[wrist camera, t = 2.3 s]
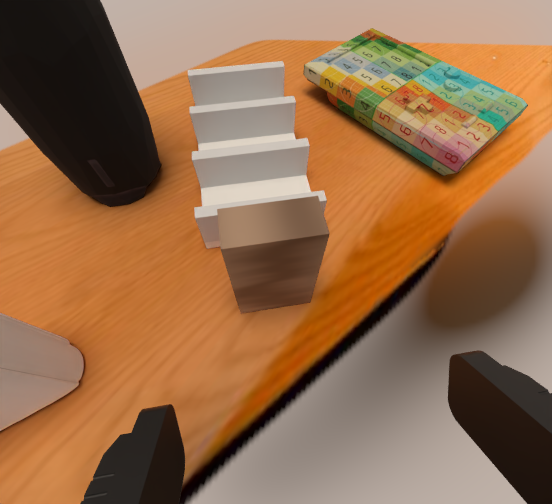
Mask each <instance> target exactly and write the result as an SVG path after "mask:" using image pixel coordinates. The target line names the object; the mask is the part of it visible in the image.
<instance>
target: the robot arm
mask: <svg viewBox="0 0 552 504" xmlns="http://www.w3.org/2000/svg"><path fill="white" fill-rule="evenodd" d="M448 402H449V406H450V409H451V412H452V414H453V416H454V418H455V419H456V421H457V422H458V423H459V424H460V426H461V427H462V428H463V429H464V430H465V431H466V433H467V434H468V435H469V436H470V437H471V439H472V440H473V441H474V442H475V443H476V444H477V446H479V448H480V449H481V450H482V451H483V452H484V454H485V455H486V456H487V457H488V458H489V459H490V461H491V462H492V463H493V464H494V465H495V466H496V468H497V469H498V470H499V471H500V472H501V473H502V474H503V476H504V477H505V478H506V479H507V480H508V482H509V483H510V484H511V485H512V486H513V487H514V489H515V490H516V491H517V492H518V493H519V494H520V496H521V497H522V498H523V499H524V500H525V501H526V502H527V504H552V393H551V394H550V393H549V392H548V390H547V389H545V388H544V387H543V386H541V385H540V384H539V383H537V382H536V381H535V380H533V379H532V378H530V377H529V376H527V375H525V374H523V373H521V372H518V371H516V370H514V369H512V368H510V367H508V366H502V365H501V364H499V363H498V362H497V361H495V360H494V359H493V358H491V357H490V356H489V355H487V354H486V353H484V352H483V351H472V352H466V353H461V354H456V355H453V356H451V358H450V366H449V386H448ZM184 471H185V452H184V446H183V442H182V438H181V434H180V430H179V426H178V422H177V418H176V414H175V411H174V408H173V406H172V405H171V404H169V405H163V406H158V407H152V408H147V409H142V410H141V412H140V413H139V415H138V418H137V420H136V423H135V425H134V428H133V430H132V433H128V434H122V435H120V436H119V437H118V438H117V440H116V441H115V442H114V443H113V444H112V445H111V447H110V448H109V449H108V450H107V451H106V452H105V454H104V455H103V457H102V459H101V461H100V463H99V465H98V468H97V470H96V472H95V474H94V476H93V481H91V482H90V485H89V487H88V489H87V491H86V493H85V495H84V501H81V504H179V501H180V495H181V489H182V484H183V478H184Z"/></svg>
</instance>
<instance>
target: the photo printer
mask: <svg viewBox="0 0 552 504" xmlns="http://www.w3.org/2000/svg"><path fill="white" fill-rule="evenodd" d="M83 368H84V362H83V357H82V354H81V352H80V351H79V350H78V349H77V348H76V347H74V346H72V345H70V342H69V340H67V339H66V338H63V337H61V336H59V335H56V334H53V333H51V332H48V331H46V330H43V329H40V328H38V327H35V326H33V325H30V324H27V323H25V322H22V321H20V320H17V319H15V318H12V317H9V316H7V315H4V314H2V313H0V431H1V430H3V429H5V428H7V427H8V426H10V425H12V424H14V423H16V422H18V421H20V420H22V419H24V418H25V417H27V416H29V415H31V414H33V413H35V412H36V411H38V410H40V409H42V408H44V407H45V406H47V405H49V404H51V403H53V402H54V401H56V400H58V399H60V398H61V397H63V396H65V395H66V394H68V393H69V392H71V391H72V390H73V389H75V388H76V387H77V386H78V385H79V382H78V381H79V380H80V379H81V377H82V374H83Z"/></svg>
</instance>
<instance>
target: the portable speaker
mask: <svg viewBox="0 0 552 504" xmlns="http://www.w3.org/2000/svg"><path fill="white" fill-rule="evenodd" d="M0 104H1V105H2V106H3V107H4V108H5V109H6V111H7V112H8V113H9V114H10V115H11V116H12V118H14V120H15V121H16V122H17V123H18V125H19V126H20V127H21V128H22V129H23V130H24V132H25V133H26V134H27V135H28V136H29V138H30V139H31V140H32V141H33V142H34V143H35V145H36V146H37V147H38V148H39V149H40V150H41V152H42V153H43V154H44V155H45V156H46V157H48V158H49V159H50V160H51V161H52V162H53V163H54V164H55V165H56V166H57V167H58V168H59V169H60V170H61V171H62V172H63V173H64V174H65V175H66V176H67V177H68V178H69V179H70V180H71V181H72V182H73V183H74V184H75V185H76V186H77V187H78V188H79V189H80V190H81V191H82V192H83V193H85V194H87V195H88V196H91V197H93V198H95V199H96V200H97V201H99V202H100V203H102V204H105V205H107V206H110V207H111V206H118V205H125V204H130V203H132V202H134V201H136V200H138V199H140V198H142V197H144V194H145V190H146V188H147V186H148V185H149V184H150V183H151V182H152V181H153V179H154V178H155V177H156V175H157V172H158V170H159V167H160V166H161V164H160V161H159V157H158V152H157V148H156V144H155V140H154V136H153V133H152V129H151V125H150V121H149V117H148V115H147V112H146V110H145V107H144V105H143V103H142V100H141V98H140V95H139V93H138V90H137V88H136V86H135V83H134V81H133V78H132V76H131V74H130V71H129V69H128V66H127V64H126V61H125V59H124V56H123V54H122V51H121V49H120V47H119V44H118V42H117V39H116V37H115V34H114V32H113V29H112V27H111V25H110V22H109V20H108V17H107V15H106V12H105V10H104V8H103V5H102V3H101V2H100V0H0Z"/></svg>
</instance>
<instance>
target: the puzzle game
mask: <svg viewBox="0 0 552 504" xmlns="http://www.w3.org/2000/svg"><path fill="white" fill-rule="evenodd" d="M304 75H305V77H306V78H307V79H308V80H309V81H310V82H312V83H314V84H315V85H317V86H318V87H320V88H322V89H323V90H325V91H326V92H327V96H328V100H329V101H330V102H331V103H332V104H333V105H334V106H335V107H337V108H338V109H340V110H341V111H343V112H345V113H346V114H348V115H349V116H351V117H352V118H354V119H355V120H357V121H359V122H360V123H362V124H363V125H365V126H366V127H368V128H370V129H371V130H373V131H374V132H376V133H377V134H379V135H380V136H382V137H384V138H385V139H387V140H388V141H390V142H391V143H393V144H394V145H396V146H398V147H399V148H401V149H402V150H404V151H405V152H407V153H409V154H410V155H412V156H413V157H415V158H416V159H418V160H419V161H421V162H423V163H424V164H426V165H427V166H429V167H430V168H432V169H434V170H435V171H437V172H438V173H440V174H441V175H443V176H444V175H447V174H452V173H458V172H459V171H460V170H461V169H462V168H463V167H465V166H466V165H467V164H468V163H469V162H470V161H471V160H472V159H473V158H474V157H475V156H477V155H478V154H479V153H480V152H481V151H482V150H483V149H484V148H485V147H486V146H487V145H489V144H490V143H491V142H492V141H493V140H494V139H495V138H496V137H497V136H498V135H499V134H501V133H502V132H503V131H504V130H505V129H506V128H507V127H508V126H509V125H510V124H511V123H512V122H514V121H515V120H516V119H517V118H518V117H519V116H520V115H521V114H522V112H523V111H524V110H525V109H526V107H527V106H528V105H527V104H526V102H525V101H524V100H523V99H522V98H520V97H517V96H515V95H513V94H511V93H509V92H507V91H505V90H503V89H500V88H498V87H496V86H494V85H492V84H490V83H488V82H486V81H483V80H481V79H479V78H477V77H475V76H473V75H471V74H469V73H466V72H464V71H462V70H460V69H458V68H456V67H454V66H451V65H449V64H447V63H445V62H443V61H441V60H439V59H437V58H434V57H432V56H430V55H428V54H426V53H424V52H422V51H420V50H417V49H415V48H413V47H411V46H409V45H407V44H405V43H403V42H400V41H398V40H396V39H394V38H392V37H390V36H387V35H385V34H383V33H381V32H379V31H377V30H375V29H373V28H372V29H370V30H368V31H366V32H364V33H362V34H361V35H359V36H357V37H355V38H353V39H351V40H349V41H348V42H346V43H344V44H342V45H340V46H338V47H336V48H335V49H333V50H331V51H329V52H327V53H325V54H324V55H322V56H320V57H318V58H316V59H314V60H313V61H311V62H309V63H307V64H305V65H304Z"/></svg>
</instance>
